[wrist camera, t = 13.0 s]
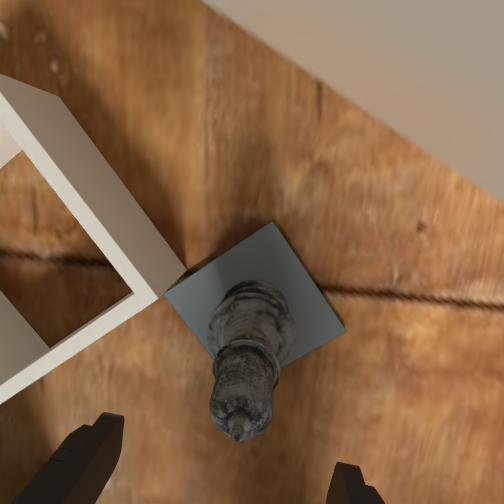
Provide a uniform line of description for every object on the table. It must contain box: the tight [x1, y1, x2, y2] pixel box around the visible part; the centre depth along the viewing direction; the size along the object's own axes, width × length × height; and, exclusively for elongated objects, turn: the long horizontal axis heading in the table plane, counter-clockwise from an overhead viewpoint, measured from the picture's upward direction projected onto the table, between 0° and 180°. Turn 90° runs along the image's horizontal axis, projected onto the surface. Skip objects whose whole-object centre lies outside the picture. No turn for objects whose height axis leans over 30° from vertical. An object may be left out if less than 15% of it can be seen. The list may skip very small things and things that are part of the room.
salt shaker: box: [206, 280, 297, 443], centre depth 18 cm, size 6×6×12 cm
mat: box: [164, 221, 346, 368], centre depth 24 cm, size 10×10×1 cm
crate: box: [0, 74, 187, 404], centre depth 21 cm, size 15×15×6 cm
